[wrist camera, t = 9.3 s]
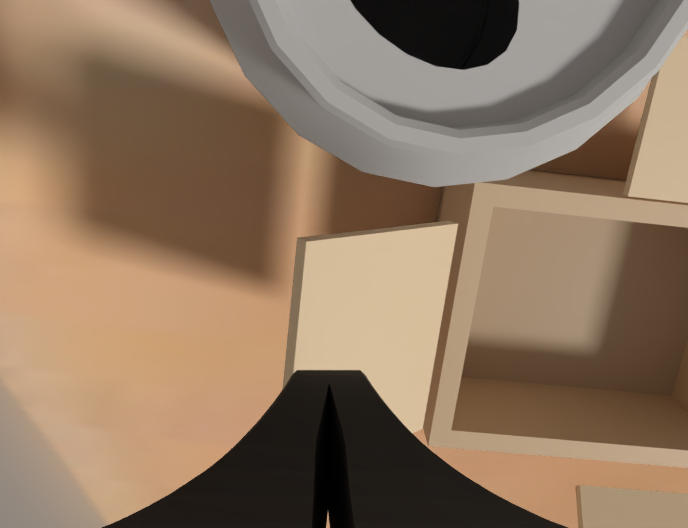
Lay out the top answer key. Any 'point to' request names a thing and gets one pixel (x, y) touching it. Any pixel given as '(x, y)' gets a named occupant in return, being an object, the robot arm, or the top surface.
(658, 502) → the side flap
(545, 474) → the top surface
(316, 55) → the can
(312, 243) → the long flap
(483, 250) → the carton
